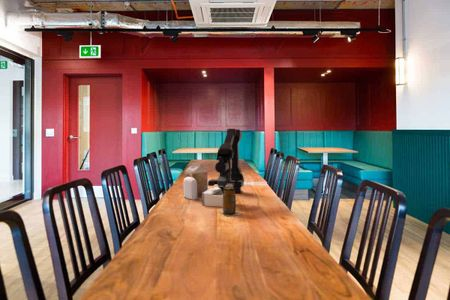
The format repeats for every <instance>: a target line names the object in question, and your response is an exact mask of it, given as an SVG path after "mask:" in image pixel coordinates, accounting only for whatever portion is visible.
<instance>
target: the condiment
mask: <svg viewBox="0 0 450 300" xmlns="http://www.w3.org/2000/svg"><path fill="white" fill-rule="evenodd" d="M236 194H237V193H235V188H233V187H227V186H226V188H224V194H223V207H222V210H221V211H219V213H220V214H222V215H225V216H226V217H231V216H232V217H233V216H239V215H241V213H240V212H238V211H237V210H236V209H237V203H236V201H237V195H236Z"/></svg>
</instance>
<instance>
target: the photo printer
mask: <svg viewBox="0 0 450 300" xmlns="http://www.w3.org/2000/svg"><path fill="white" fill-rule="evenodd" d="M182 182H183V184H182V185H183V197H184V198H185V197H186V199H190V200H193V201H194V200H197V199H198V196H197V181H196V180H195V179H194V178H192V177H186V178H184V177H183V181H182Z"/></svg>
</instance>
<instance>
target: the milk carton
mask: <svg viewBox="0 0 450 300" xmlns="http://www.w3.org/2000/svg"><path fill="white" fill-rule="evenodd" d="M183 173H184V174H183V179H184V178H186V177H192V178H194V179H195V180H196V181H197V197H199V196H200V195H201V196H202V193H203V192H205V191H207V190H208V189H209V188H208V187H209V186H208V181H209V179H208V178H209V177H208V176H209V175H208V170H207V169H205V168H203V167H201V165H200V163H193V162H191V163H190V166H188V167H187V168H186V169H185V170H184V171H183Z"/></svg>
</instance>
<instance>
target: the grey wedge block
mask: <svg viewBox="0 0 450 300" xmlns="http://www.w3.org/2000/svg"><path fill="white" fill-rule="evenodd" d="M218 187H219V186H211V187H210V188H208V190H207V191H205V192H203V193H202V195H201V206H207V207H220V208H223V196H219V195H223V192H222V190H221V189H220V188H218Z"/></svg>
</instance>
